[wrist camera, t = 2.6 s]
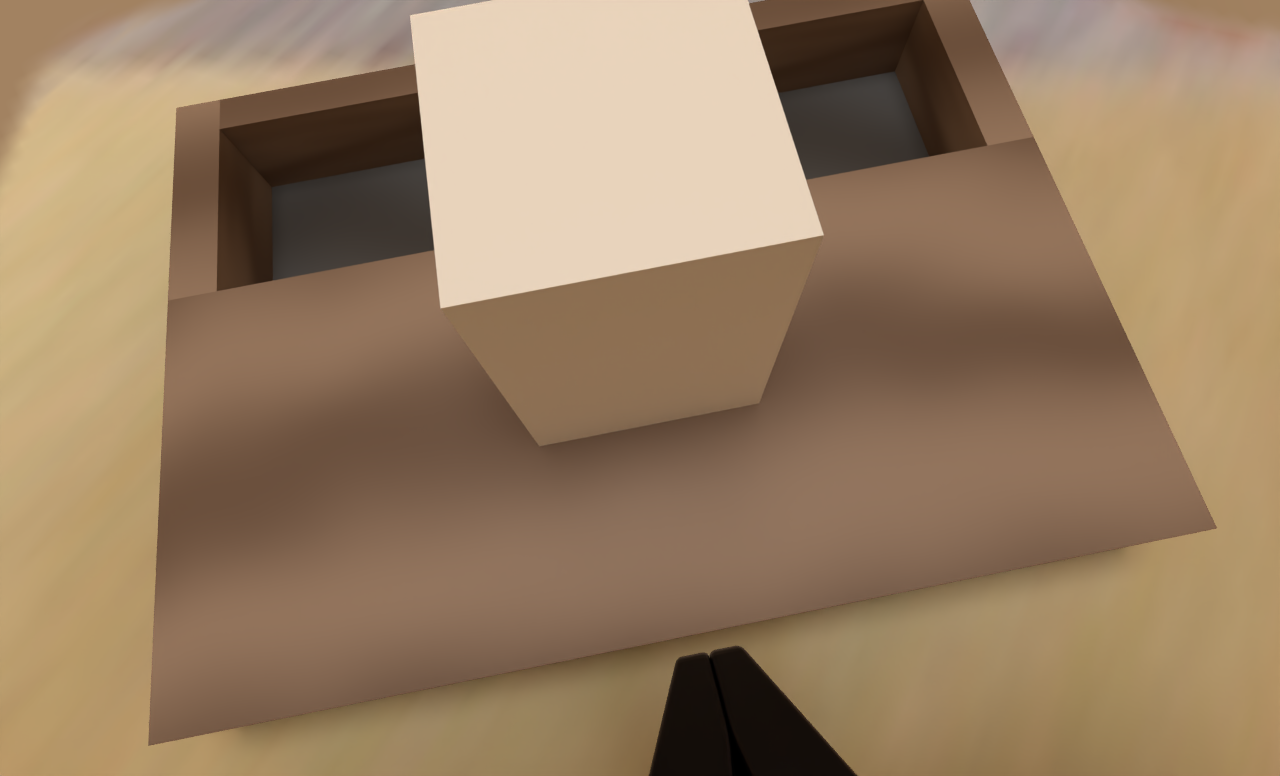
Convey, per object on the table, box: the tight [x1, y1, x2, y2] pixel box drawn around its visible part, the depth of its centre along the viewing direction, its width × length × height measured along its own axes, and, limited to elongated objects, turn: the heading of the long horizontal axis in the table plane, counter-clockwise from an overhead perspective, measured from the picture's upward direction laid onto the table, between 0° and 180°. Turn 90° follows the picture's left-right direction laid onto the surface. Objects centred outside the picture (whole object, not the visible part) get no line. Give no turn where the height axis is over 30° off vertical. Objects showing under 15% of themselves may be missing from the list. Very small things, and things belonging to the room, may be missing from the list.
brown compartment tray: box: [148, 0, 1217, 746], centre depth 18 cm, size 16×22×3 cm
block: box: [410, 0, 824, 446], centre depth 13 cm, size 5×5×7 cm
